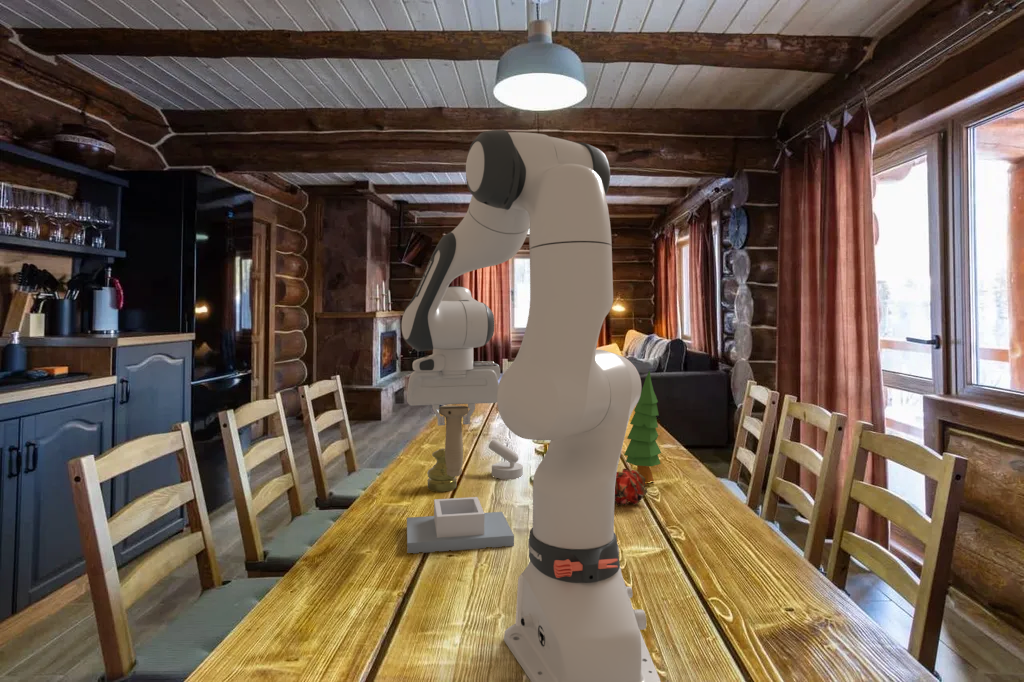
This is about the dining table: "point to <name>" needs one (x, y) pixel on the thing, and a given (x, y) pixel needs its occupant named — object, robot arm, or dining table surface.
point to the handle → (453, 438)
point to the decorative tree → (644, 433)
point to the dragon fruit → (629, 487)
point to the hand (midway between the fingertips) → (453, 424)
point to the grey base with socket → (458, 527)
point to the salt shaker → (440, 474)
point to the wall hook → (505, 468)
